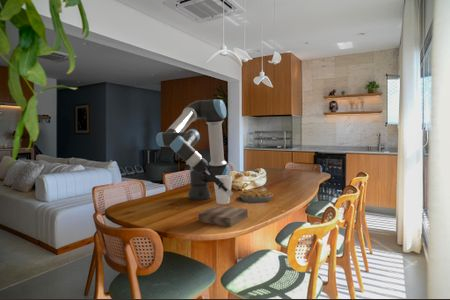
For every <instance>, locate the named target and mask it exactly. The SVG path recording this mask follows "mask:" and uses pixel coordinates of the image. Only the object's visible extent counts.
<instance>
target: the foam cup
mask: <svg viewBox="0 0 450 300" xmlns="http://www.w3.org/2000/svg"><path fill="white" fill-rule="evenodd" d="M216 177H217V178H218V179H219V180H220V181H221V182H222V183H223V184H224V185H225V186H226V187H227V188H228V189H230V190H231V191H232V184H233V176H232V175H230V176H227V175H219V176H216ZM213 187H214V193H215V200H216V204H218V205H227V204H230V201H231V196H230V197H229V196H228V195H227V194H226V193H224V192H223V191H222V190H221V189H218V188H219V187H218V185H216V184H215V183H213Z"/></svg>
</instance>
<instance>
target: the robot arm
mask: <svg viewBox="0 0 450 300" xmlns="http://www.w3.org/2000/svg"><path fill="white" fill-rule="evenodd" d="M226 117H227V107H226V104H225V102H224V101H223V100H222V99H216V98H215V99H203V100H202V99H199V100H195V101H193V102H192V103H189V104H188V105H187V106H185V108H184V109H183V110H182V113H181V114H180V115H179V117H177V118H176V120H175V121H173V123H172V124H171V125H170V126H169V127H168V129H166V131H165V132H164V131H162V132H158V133H156V136H155V141H156V145H157V146H159V147H162V148H163V147H164V148H166V147H168V148H171V150H172V151H173V152H174V153H175V154H176V155H177V156H179V157H180V158H181V159H182V160H183V161H184V162H185V165H187V166H188V165H189V167H190V169H189V172H190V173H189V175H190V178H189V180H190V181H189V182H190V186H189V191H188V193H187V198H188V199H189V200H191V201H203V200H205V201H206V200H209V199H211V197H212V195H211V191H210V188H209V183H212V184H214V183H215V184H216V185H218V187H219V188H218V189H221V190H222V191H223V192H224V193H226V194H227V195H228V196H229V197H230V198H231V196H232V195H233V194H234V192H233V191H232V189H231V190H230V189H228V188H227V187H226V186H225V185H224V184H223V183H222V182H221V181H220V180H219V179H218V178H217V177H216V176H219V175H227V176H231V166H230V165H228V164H227V163H228V162H227V161H226V159H225V156H224V154H225V152H224V141H223V140H224V139H223V137H224V136H223V128H222V124H223V122H224V121H225V120H224V119H225V118H226ZM197 120H204V122H205V123H206V124H207V130H208V141H209V154H210V162H208V160H206V159H205V158H204V157H202V154H200V153H199V152H198V151H197V150H196V149H195V148H194V147H195V145H197V144H198V142H199V140H200V138H201V137H200V135H201V134H200V133H199V131H198V130H197V129H195V128H191V129H189V130H187V128H189V126H190V125H191V123H192V122H195V121H197ZM185 130H187V131H185Z"/></svg>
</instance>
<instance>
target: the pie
mask: <svg viewBox="0 0 450 300" xmlns="http://www.w3.org/2000/svg"><path fill="white" fill-rule="evenodd" d="M238 195H239V196H240V199H241V200H242V201H244V202H248V203H264V202H269V201H271V199H272V197H273V192H271V191H267V190H261V189H258V190H257V189H252V190H250V189H248V190H242V191H240V192H239V194H238Z"/></svg>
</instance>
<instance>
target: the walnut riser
mask: <svg viewBox="0 0 450 300" xmlns="http://www.w3.org/2000/svg"><path fill="white" fill-rule="evenodd" d="M248 212H249V211H248V208H240V207H233V206H225V205H220V204H218V205H214V206H212V207H210V208H208V209H205V210H203V211H201V212H199V213H198V215H197V216H198V222H200V223H206V224H212V225H218V226H222V227H230V228H232V227H233V226H235V225H236V224H238V223H240V222H241V221H243V220H245V219H247V218H248V216H249V215H248Z"/></svg>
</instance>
